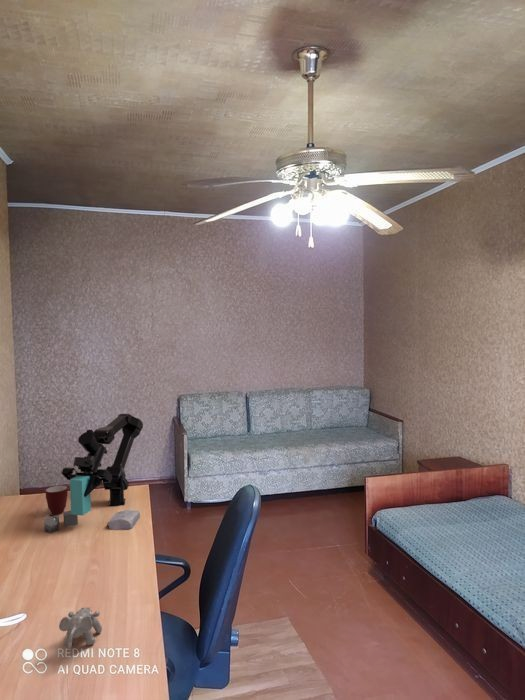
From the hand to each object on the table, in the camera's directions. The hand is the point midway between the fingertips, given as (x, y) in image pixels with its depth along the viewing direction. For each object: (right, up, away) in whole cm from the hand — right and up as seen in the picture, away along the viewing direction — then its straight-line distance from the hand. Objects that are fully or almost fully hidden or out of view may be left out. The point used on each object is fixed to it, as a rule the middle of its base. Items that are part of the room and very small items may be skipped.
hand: (78, 495), depth 182 cm
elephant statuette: (+25, -16, -66) cm, 72 cm away
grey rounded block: (-10, -13, 0) cm, 16 cm away
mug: (-15, -12, +18) cm, 26 cm away
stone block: (+15, -12, +5) cm, 20 cm away
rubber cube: (-5, -12, +6) cm, 15 cm away
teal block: (0, -7, +2) cm, 7 cm away
